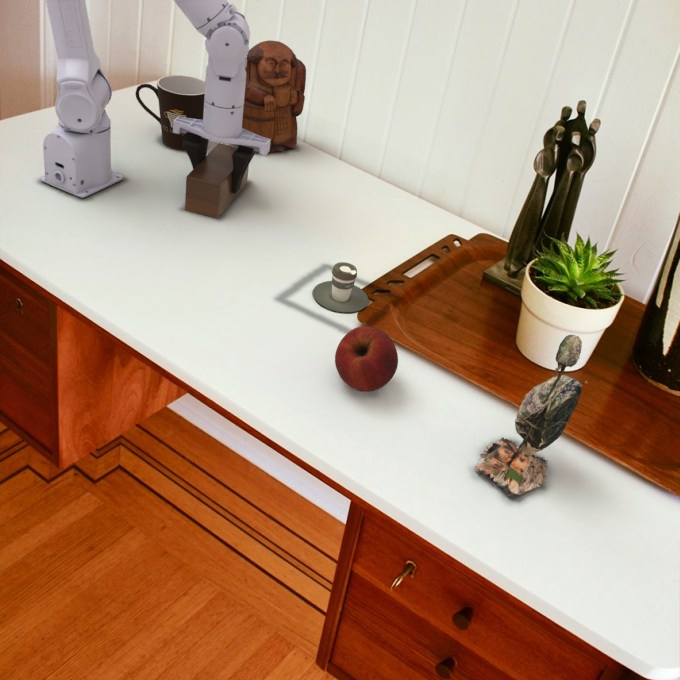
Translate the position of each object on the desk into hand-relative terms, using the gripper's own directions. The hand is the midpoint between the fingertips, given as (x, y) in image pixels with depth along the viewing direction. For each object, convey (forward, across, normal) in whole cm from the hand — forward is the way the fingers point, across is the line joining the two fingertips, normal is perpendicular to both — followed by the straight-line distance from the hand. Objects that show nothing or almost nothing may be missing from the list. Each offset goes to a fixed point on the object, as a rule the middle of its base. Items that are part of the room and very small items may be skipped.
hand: (218, 186), depth 136 cm
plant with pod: (+2, -51, +45) cm, 68 cm away
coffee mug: (+2, +13, -16) cm, 21 cm away
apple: (+2, -31, +37) cm, 49 cm away
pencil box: (+2, 0, 0) cm, 2 cm away
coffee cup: (+2, -25, +20) cm, 32 cm away
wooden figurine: (+2, -1, -22) cm, 23 cm away
